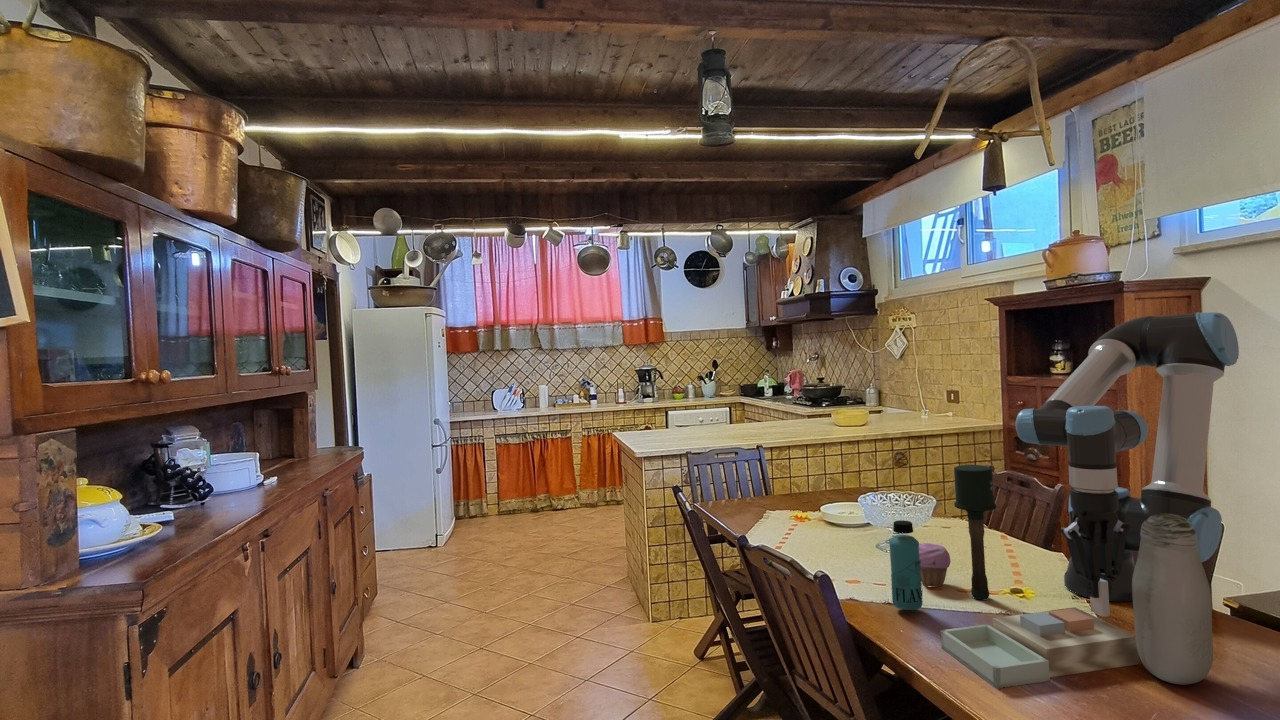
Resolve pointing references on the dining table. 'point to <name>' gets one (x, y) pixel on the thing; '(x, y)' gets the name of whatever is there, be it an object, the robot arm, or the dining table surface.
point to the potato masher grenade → (975, 516)
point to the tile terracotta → (1073, 620)
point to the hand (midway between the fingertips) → (1100, 613)
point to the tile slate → (1042, 624)
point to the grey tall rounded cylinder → (1172, 602)
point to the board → (1075, 645)
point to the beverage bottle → (905, 568)
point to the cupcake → (933, 564)
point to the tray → (995, 656)
